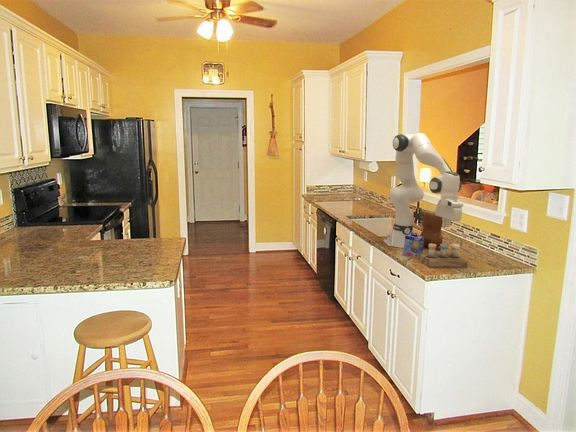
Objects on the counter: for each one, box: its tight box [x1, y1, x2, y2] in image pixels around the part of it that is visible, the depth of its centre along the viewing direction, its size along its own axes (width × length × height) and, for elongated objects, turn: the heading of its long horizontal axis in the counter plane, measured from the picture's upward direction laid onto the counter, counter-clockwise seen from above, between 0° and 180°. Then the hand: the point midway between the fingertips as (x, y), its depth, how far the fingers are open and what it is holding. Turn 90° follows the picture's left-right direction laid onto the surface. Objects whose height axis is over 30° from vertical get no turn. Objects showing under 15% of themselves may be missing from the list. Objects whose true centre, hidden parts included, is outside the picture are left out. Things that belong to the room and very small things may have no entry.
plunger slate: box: [439, 243, 449, 257], centre depth 240 cm, size 4×4×7 cm
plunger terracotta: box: [427, 243, 437, 257], centre depth 239 cm, size 4×4×7 cm
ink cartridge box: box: [403, 231, 424, 259], centre depth 255 cm, size 10×6×14 cm, turn 51°
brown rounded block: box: [419, 209, 444, 249], centre depth 277 cm, size 14×13×25 cm
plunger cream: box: [450, 243, 460, 257], centre depth 241 cm, size 4×4×7 cm
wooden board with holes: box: [417, 253, 469, 269], centre depth 241 cm, size 14×22×4 cm, turn 101°
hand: (446, 226), depth 238 cm, fingers closed
